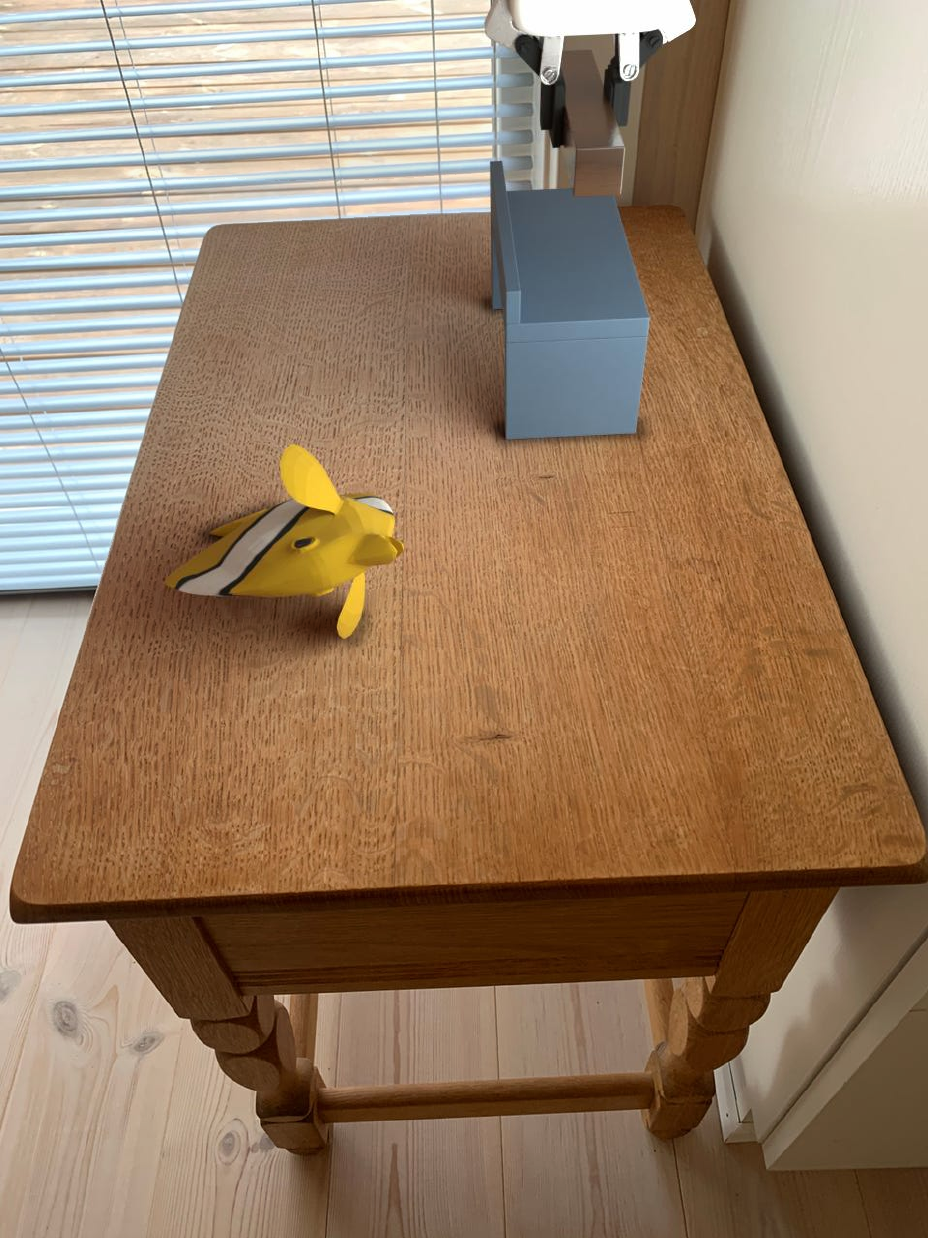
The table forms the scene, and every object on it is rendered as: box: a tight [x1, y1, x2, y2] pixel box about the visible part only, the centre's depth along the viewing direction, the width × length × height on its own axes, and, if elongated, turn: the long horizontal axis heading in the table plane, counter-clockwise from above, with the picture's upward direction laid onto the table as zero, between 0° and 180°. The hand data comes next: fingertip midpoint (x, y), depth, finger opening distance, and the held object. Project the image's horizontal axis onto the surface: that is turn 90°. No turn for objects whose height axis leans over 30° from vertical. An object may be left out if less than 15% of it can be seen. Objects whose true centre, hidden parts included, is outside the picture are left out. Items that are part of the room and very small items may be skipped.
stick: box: [560, 49, 626, 197], centre depth 66 cm, size 16×3×3 cm, turn 2°
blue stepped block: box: [489, 160, 651, 440], centre depth 78 cm, size 10×20×12 cm, turn 2°
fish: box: [164, 443, 405, 640], centre depth 62 cm, size 20×12×15 cm
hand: (582, 135), depth 67 cm, fingers closed on stick, 3 cm apart
